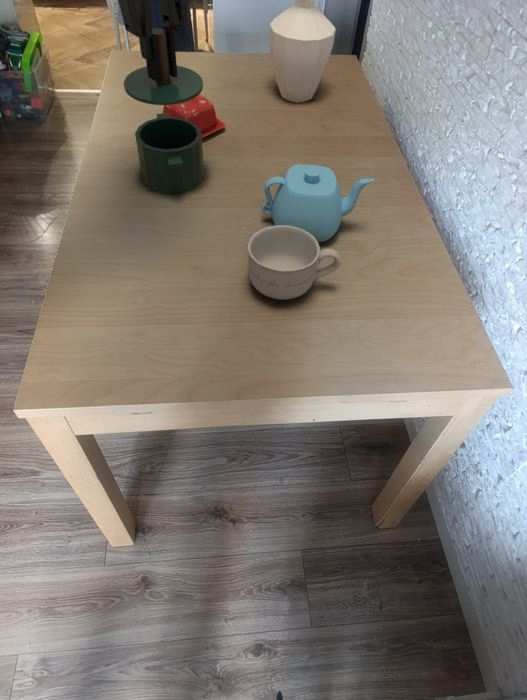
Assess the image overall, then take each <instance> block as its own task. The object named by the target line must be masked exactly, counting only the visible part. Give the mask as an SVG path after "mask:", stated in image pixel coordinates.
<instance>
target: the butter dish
mask: <svg viewBox="0 0 527 700" xmlns="http://www.w3.org/2000/svg"><path fill="white" fill-rule="evenodd" d="M162 113H169V114H170V117H177V118H183V119H186V120H189V121H191V122H193V123H195V124H196V125H197V126H198V127H199V128H200V131H201V134H202V139H203V138H205V137H207V136H210V135H212V134H214V133H216V132H218V131H220V130H222V129H224V128H225V127H226V123H225V122H224V121H222V120H221V119H219V118H218V117H217V115H216V110H215V106H214V105H213V103H212V102H211V101H210V100H209V99H208V98H206V97H205V96H204V95H202V94H201V93H200V94H199V95H198V96H197V97H195V98H193V99H191V100H189V101H186V102H183V103H179V104H173V105H163V109H162Z"/></svg>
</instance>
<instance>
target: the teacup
mask: <svg viewBox="0 0 527 700" xmlns="http://www.w3.org/2000/svg"><path fill="white" fill-rule="evenodd" d="M247 253H248V254H247V255H248V256H247V257H248V258H247V263H248V264H247V265H248V267H247V268H248V276H249V279H250V282H251V285H252V286H253V288H254V289H256V290H257V291H258V292H259V293H260V294H262V295H263V296H266V297H269V298H271V299H274V300H290V299H295V298H298V297H301V296H302V295H304V294H305V293H306V292H308V291H309V289H310V288H311V287H312V285H313V284H314V281H317V280H318V279H319V278H322V277H324V276H327V275H330V274H332V273H334V272H336V271H337V270H338V269H339V267H340V265H341V263H342V261H341V256H340V253H339V252H338V251H337V250H336V249H333V248H324V249H322V250H321V247H320V244H319V242H317V240H316V239H315V237H314V236H313V235H311V234H310V233H308V232H307V231H305V230H302V229H300V228H297V227H293V226H287V225H277V226H275V225H270V226H267V227H264V228H262V229H259V230H257V231H256V232H255V233H254V234H253V235H252V236H251V237H250V238H249V240H248V244H247ZM326 258H331V259H333V262H332V263H331V264H329V265H327V266H325V267H321V268H318V266H319V265H320V264H321V262H322V261H323V260H324V259H326Z"/></svg>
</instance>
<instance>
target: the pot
mask: <svg viewBox="0 0 527 700" xmlns="http://www.w3.org/2000/svg"><path fill="white" fill-rule="evenodd" d="M134 135H135V142H136V148H137V155H138V161H139V166H140V173H141V179H142V182H143V183H144V184H145V186H147V188H149V189H151V190H153V191H155V192H158V193H162V194H170V195H171V194H175V195H176V194H183V193H187V192H189V191H191V190H193V189H195V188H197V187H198V186H199V185H200V184H201V183H202V181H203V180H204V174H205V172H204V171H205V170H204V169H205V168H204V154H203V153H204V150H203V138H202V134H201V131H200V128H199V127H198V126H197V125H196V124H195V123H193V122H191V121H189V120H186V119H183V118H177V117H170V114H169V113H163V112H162V113H156V117H155V118H152V119H149V120H146V121H145V122H143V123H141V124H140V125H139V126H138V127H137V129H136V131H135V132H134Z"/></svg>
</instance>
